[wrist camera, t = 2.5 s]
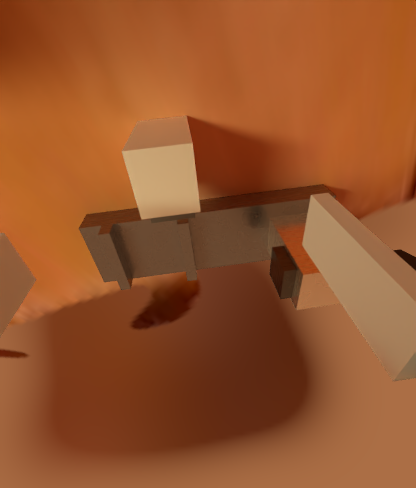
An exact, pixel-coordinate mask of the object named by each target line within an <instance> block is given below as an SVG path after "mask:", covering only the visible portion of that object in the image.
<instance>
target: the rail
mask: <svg viewBox="0 0 416 488" xmlns="http://www.w3.org/2000/svg"><path fill="white" fill-rule="evenodd" d="M322 193H329V194H330V195H331V196H332V197H333V198H335V197H336V195H335V194H334V193H332V192H331V191H330V190H329V189H328V188H327V187H326V186H324V185H316V186H308V187H300V188H292V189H284V190H276V191H268V192H260V193H253V194H245V195H237V196H229V197H221V198H213V199H205V200H199V202H200V211H201V212H196V213H195V218H189V219H181V220H173V221H166V222H158V223H151V219H150V218H149V219H141V217H140V213H139V210H138V208H134V209H126V210H118V211H110V212H102V213H95V214H87V215H86V216H85V218H84V220H83V222H82V224H81V225H80V227H79V230H80V232H81V234H82V236H83V238H84V240H85V242H86V245H87V247H88V249H89V251H90V253H91V255H92V257H93V259H94V261H95V264H96V266H97V268H98V270H99V272H100V274H101V276H102V278H103V280H104V282H110V281H118V284H119V286H120V288H121V290H125V289H131V286H132V280H133V278H140V277H147V276H154V275H162V274H169V273H176V272H183V271H186V275H187V280H188V281H190V280H197V273H196V270H198V269H205V268H213V267H220V266H226V265H235V264H242V263H248V262H257V261H264V260H271V265H270V276H271V278H272V281H273V283H274V285H275V288H276V290H277V292H278V294H279V297H280V299H285V298H291V300H292V302H293V304H294V307H295V308H296V310H300V309H306V308H314V307H320V306H328V305H335V304H341V303H340V301H339V300H338V298H337V297H336V295H335V294H334V292H333V291H332V289H331V288H330V286H329V285H328V283H327V282H326V280H325V279H324V277H323V276H322V274H321V273H320V271H319V270H318V268H317V267H316V265H315V264H314V262H313V261H312V259H311V258H310V256H309V255H308V253H307V252H306V250H305V249H304V247H303V246H302V243H303V237H304V231H305V226H306V220H307V214H308V209H309V203H310V197H311V195H314V194H322Z"/></svg>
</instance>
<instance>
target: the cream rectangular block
mask: <svg viewBox="0 0 416 488" xmlns="http://www.w3.org/2000/svg"><path fill="white" fill-rule="evenodd" d="M122 154H123V157H124V161H125V164H126V168H127V171H128V175H129V178H130V182H131V185H132V189H133V192H134V196H135V199H136V203H137V206H138V210H139V213H140V217H141V219H149V218H150V219H151V223H158V222H166V221H173V220H181V219H189V218H195V213H196V212H201V211H200V202H199V194H198V185H197V176H196V168H195V159H194V151H193V142H192V138H191V133H190V129H189V124H188V120H187V116H178V117H169V118H160V119H152V120H143V121H137V123H136V125H135V127H134V129H133V131H132V133H131V135H130V137H129V139H128V141H127V143H126V144H125V146H124V148H123V150H122Z"/></svg>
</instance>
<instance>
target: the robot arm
mask: <svg viewBox="0 0 416 488" xmlns="http://www.w3.org/2000/svg"><path fill="white" fill-rule="evenodd" d="M302 246H303V247H304V249H305V250H306V252H307V253H308V255H309V256H310V258H311V259H312V261H313V262H314V264H315V265H316V267H317V268H318V270H319V271H320V273H321V274H322V276H323V277H324V279H325V280H326V282H327V283H328V285H329V286H330V288H331V289H332V291H333V292H334V294H335V295H336V297H337V298H338V300H339V301H340V303H341V304H342V305H343V307H344V308H345V310H346V311H347V313H348V314H349V316H350V317H351V319H352V320H353V322H354V323H355V325H356V326H357V328H358V329H359V331H360V332H361V334H362V335H363V337H364V338H365V340H366V341H367V343H368V344H369V345H370V347H371V349H372V350H373V352H374V353H375V355H376V356H377V358H378V359H379V361H380V362H381V364H382V365H383V366H384V368H385V370H386V371H387V373H388V374H389V375H390V377H391V378H392V380H393V381H398V380H406V379H412V378H416V257H414V256H412V255H410V254H408V253H406V252H404V251H402V250H394V251H393V250H392V249H390V247H388V246H387V245H386V244H385V243H384V242H383V241H381V239H379V238H378V237H377V236H376V235H375V234H374V233H373V232H372V231H370V230H369V229H368V228H367V227H366V226H365V225H364V224H363V223H361V222H360V221H359V220H358V219H357V218H356V217H355V216H354V215H353V214H351V213H350V212H349V211H348V210H347V209H346V208H345V207H344V206H342V205H341V204H340V203H339V202H338V201H337V200H336V199H335V198H333V197H332V196H331V195H330V194H329V193H322V194H314V195H311V197H310V203H309V209H308V214H307V220H306V226H305V231H304V237H303V243H302ZM35 281H36V278H35V277H34V276H33V274H32V273H31V271H30V270H29V268H28V267H27V265H26V264H25V262H24V261H23V260H22V258H21V257H20V255H19V254H18V252H17V251H16V249H15V248H14V247H13V245H12V244H11V242H10V241H9V239H8V238H7V236H6V235H5V233H0V337H1V335H2V334H3V332H4V330H5V329H6V327H7V326H8V324H9V323H10V321H11V320H12V318H13V316H14V315H15V313H16V312H17V310H18V308H19V307H20V305H21V304H22V302H23V300H24V299H25V297H26V296H27V294H28V292H29V291H30V289H31V288H32V286H33V284H34V283H35Z"/></svg>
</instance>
